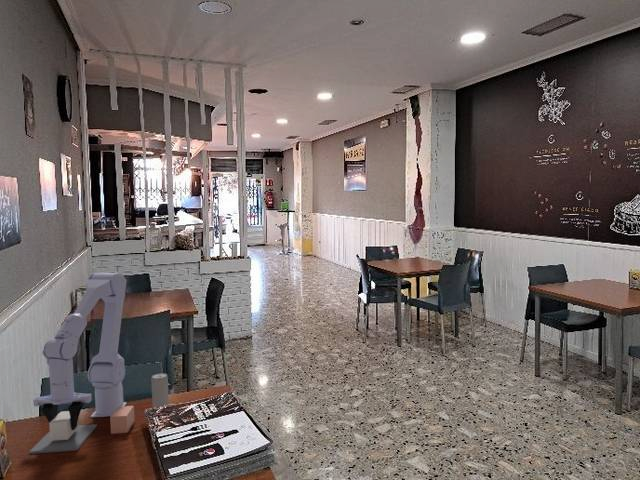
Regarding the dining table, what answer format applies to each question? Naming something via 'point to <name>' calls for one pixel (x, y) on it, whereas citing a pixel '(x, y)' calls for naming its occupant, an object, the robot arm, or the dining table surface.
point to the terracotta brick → (122, 419)
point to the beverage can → (160, 390)
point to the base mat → (64, 441)
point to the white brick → (61, 427)
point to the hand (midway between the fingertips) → (64, 428)
